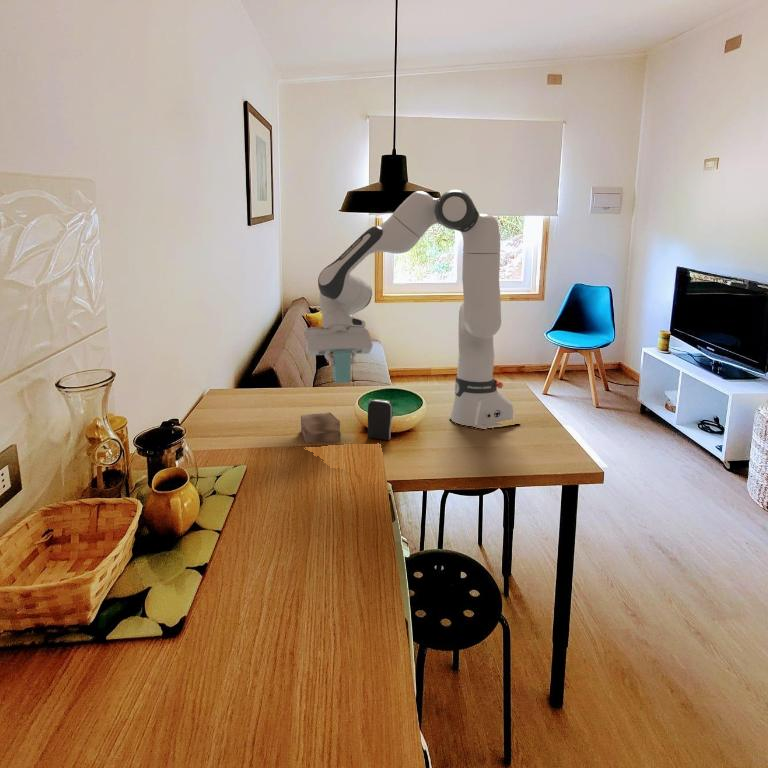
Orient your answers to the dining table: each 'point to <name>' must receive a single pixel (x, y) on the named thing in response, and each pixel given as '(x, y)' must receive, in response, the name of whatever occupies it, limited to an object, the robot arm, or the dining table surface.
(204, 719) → the dining table surface
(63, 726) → the dining table surface
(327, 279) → the robot arm
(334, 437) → the tower base
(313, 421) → the tower top
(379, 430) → the battery
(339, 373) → the teal post
